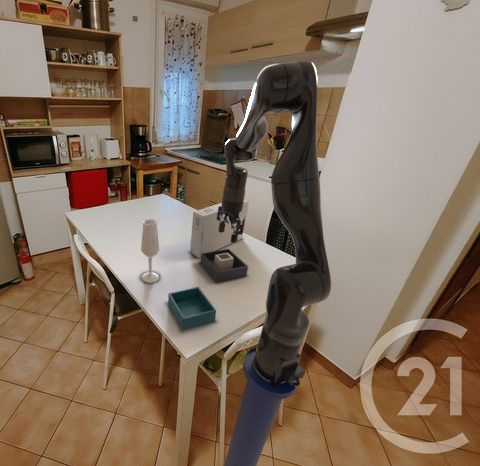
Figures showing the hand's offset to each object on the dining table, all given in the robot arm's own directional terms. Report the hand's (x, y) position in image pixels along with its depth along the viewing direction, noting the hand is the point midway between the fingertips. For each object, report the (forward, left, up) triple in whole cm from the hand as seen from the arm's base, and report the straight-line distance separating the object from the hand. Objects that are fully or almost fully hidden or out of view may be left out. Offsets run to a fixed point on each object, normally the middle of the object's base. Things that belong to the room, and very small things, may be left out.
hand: (227, 237), depth 101 cm
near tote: (-18, +23, -15) cm, 33 cm away
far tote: (0, 0, -15) cm, 15 cm away
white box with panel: (0, 0, -15) cm, 15 cm away
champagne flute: (+4, +30, -15) cm, 34 cm away
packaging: (+18, -8, -15) cm, 25 cm away
